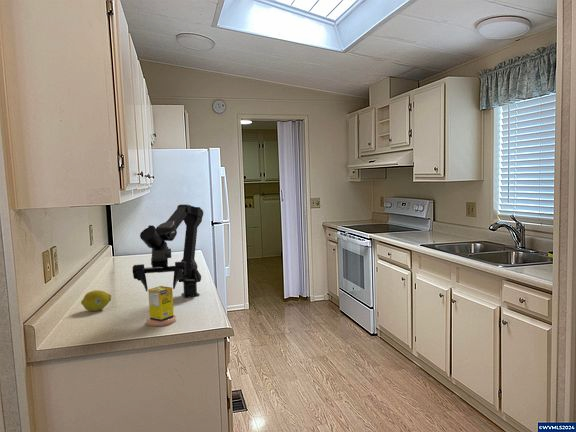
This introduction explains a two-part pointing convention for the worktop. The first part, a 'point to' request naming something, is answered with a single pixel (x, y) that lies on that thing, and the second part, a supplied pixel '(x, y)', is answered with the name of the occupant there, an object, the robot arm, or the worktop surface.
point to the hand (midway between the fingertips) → (160, 289)
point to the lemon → (96, 300)
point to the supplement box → (161, 303)
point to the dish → (161, 322)
